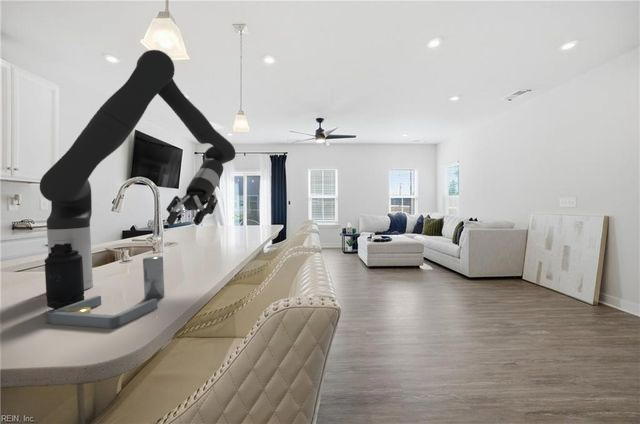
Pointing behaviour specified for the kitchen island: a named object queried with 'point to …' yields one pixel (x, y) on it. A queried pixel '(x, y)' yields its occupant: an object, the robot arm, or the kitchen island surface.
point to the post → (153, 277)
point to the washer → (81, 310)
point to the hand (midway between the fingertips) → (182, 223)
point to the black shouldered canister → (64, 276)
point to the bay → (97, 319)
